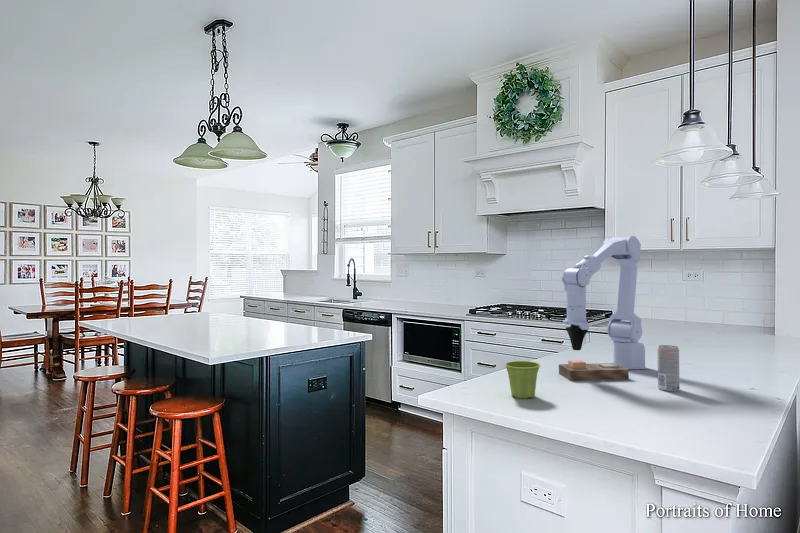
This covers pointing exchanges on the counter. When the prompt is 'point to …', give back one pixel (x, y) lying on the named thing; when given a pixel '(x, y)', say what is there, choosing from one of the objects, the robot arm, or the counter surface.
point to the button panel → (594, 372)
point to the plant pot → (522, 378)
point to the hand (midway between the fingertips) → (576, 349)
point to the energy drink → (668, 368)
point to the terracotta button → (576, 364)
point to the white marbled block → (608, 365)
